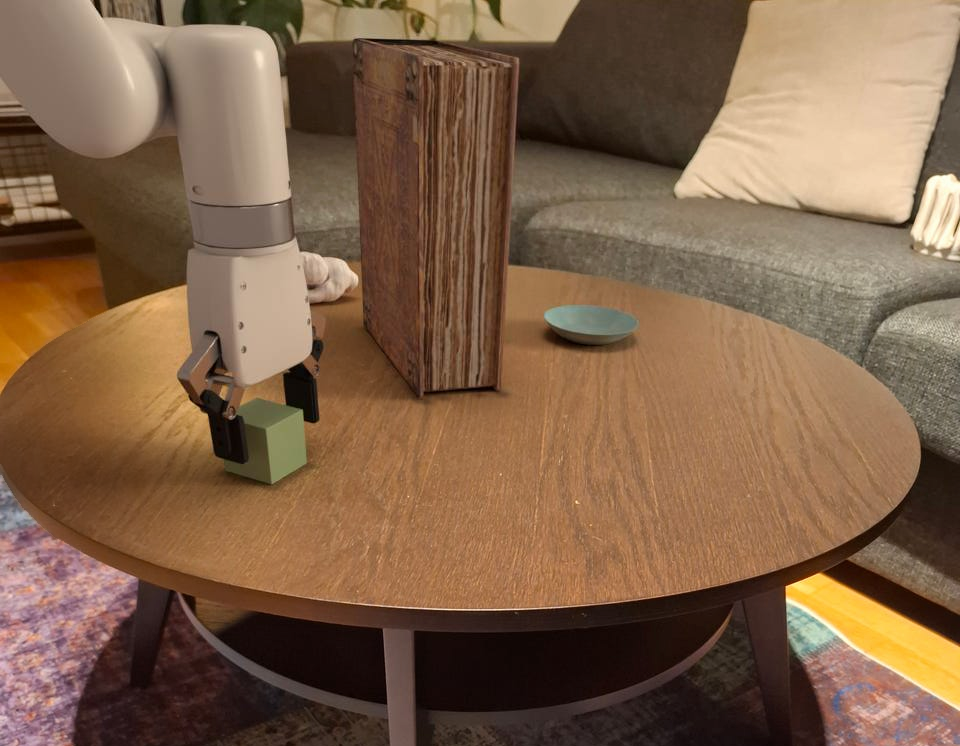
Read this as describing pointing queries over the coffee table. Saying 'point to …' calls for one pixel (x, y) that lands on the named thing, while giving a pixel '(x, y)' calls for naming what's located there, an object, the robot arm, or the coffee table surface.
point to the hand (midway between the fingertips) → (269, 438)
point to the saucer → (590, 323)
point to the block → (271, 441)
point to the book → (435, 206)
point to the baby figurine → (327, 277)
